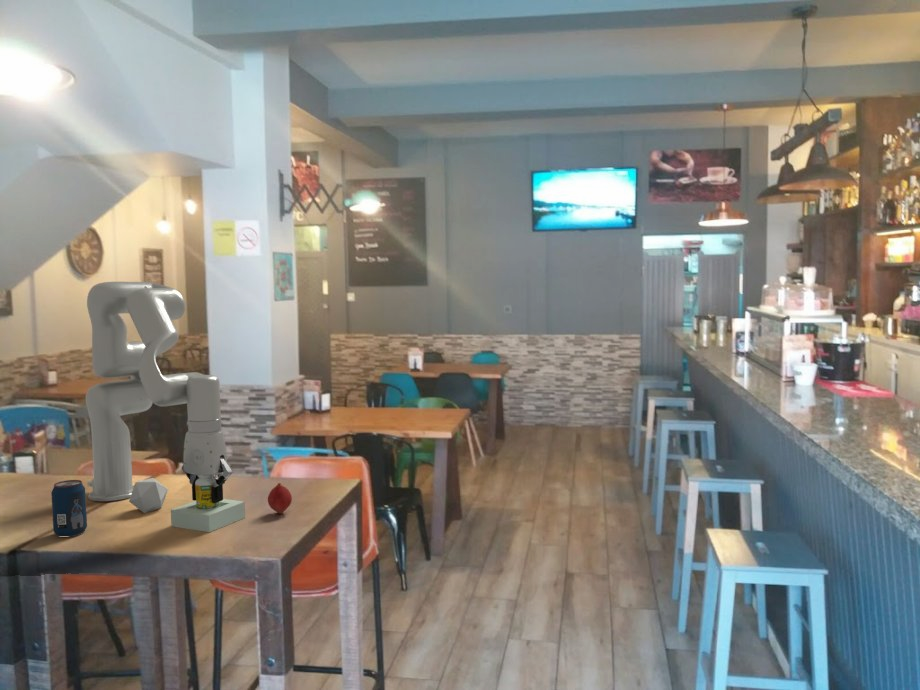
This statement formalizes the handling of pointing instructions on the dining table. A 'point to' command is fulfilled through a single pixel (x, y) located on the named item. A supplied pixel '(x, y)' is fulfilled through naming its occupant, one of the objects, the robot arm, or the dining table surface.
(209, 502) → the supplement bottle
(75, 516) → the soda can
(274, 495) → the onion
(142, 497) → the die
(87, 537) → the dining table surface
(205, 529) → the sage block
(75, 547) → the dining table surface
